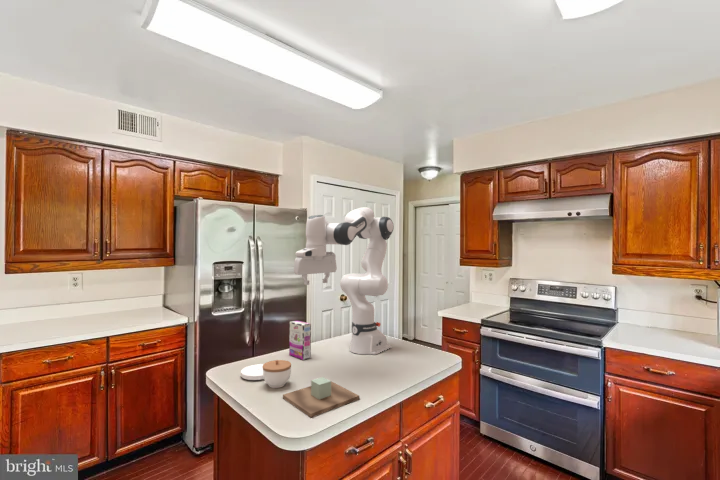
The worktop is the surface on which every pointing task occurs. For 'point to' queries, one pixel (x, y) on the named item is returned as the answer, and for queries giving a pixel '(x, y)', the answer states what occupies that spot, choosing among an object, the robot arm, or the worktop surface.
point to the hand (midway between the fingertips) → (316, 283)
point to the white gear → (253, 372)
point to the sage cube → (320, 388)
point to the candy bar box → (300, 340)
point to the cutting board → (315, 406)
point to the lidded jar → (276, 373)
